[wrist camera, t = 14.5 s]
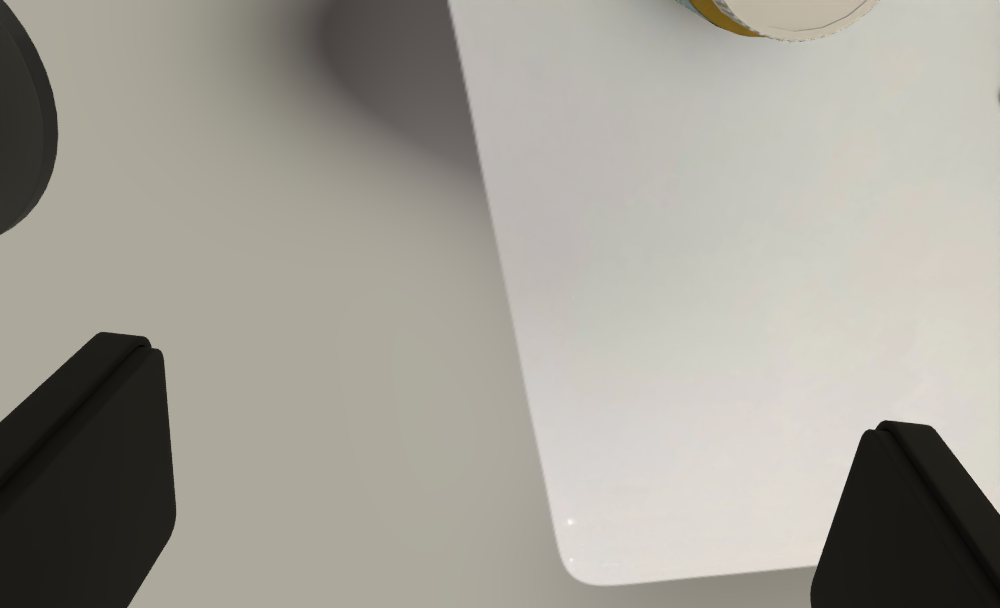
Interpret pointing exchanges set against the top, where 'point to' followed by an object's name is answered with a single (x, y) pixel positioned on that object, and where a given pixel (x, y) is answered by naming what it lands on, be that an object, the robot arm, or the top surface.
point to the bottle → (781, 16)
